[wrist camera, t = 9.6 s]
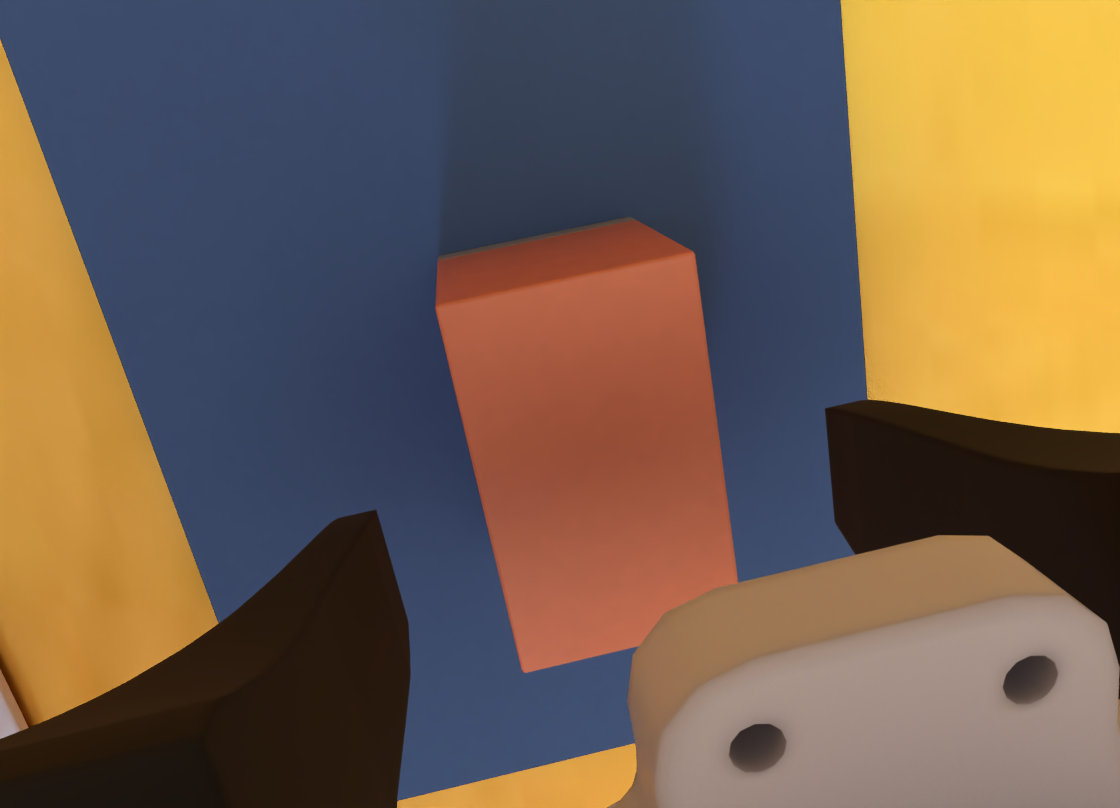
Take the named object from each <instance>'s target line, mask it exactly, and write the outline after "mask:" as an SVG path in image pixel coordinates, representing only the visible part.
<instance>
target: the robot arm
mask: <svg viewBox="0 0 1120 808" xmlns="http://www.w3.org/2000/svg"><path fill="white" fill-rule="evenodd" d="M825 416H826V427H827V439H828V450H829V462H830V474H831V485H832V497H833V508H834V520H835V524H836V525H837V527H838V528H839V530H840V531H841V533H842V535H843V536H844V538H845V539H846V541H847V542H848V544H849V546H850V547H851V549H852V550H853V552H854V553H855V554H856V555H853V556H849V557H844V558H840V559H836V560H832V561H828V562H823V563H819V564H815V565H811V566H806V567H802V568H798V569H794V570H790V571H785V572H781V573H777V574H773V575H769V576H764V577H760V578H756V579H752V580H747V581H743V582H739V583H735V584H731V585H726V586H722V587H718V588H714V589H712V590H710V591H708V592H706V593H704V594H702V595H700V596H698V597H696V598H694V599H692V600H690V601H688V602H686V603H684V604H682V605H680V606H678V607H676V608H674V609H672V610H670V611H668V612H666V613H664V615H663V616H662V617H661V618H660V620H659V621H658V622H657V624H656V625H655V626H654V628H653V629H652V630H651V631H650V633H649V634H648V635H647V637H646V638H645V639H644V641H643V642H642V643H641V645H640V646H639V647H638V648H637V650H636V651H635V652H634V654H633V656H632V665H631V673H630V682H629V690H628V698H627V703H628V708H629V713H630V718H631V724H632V729H633V734H634V739H635V744H636V756H637V771H636V775H635V779H634V782H633V785H632V787H631V788H630V789H629V791H628V792H627V793H626V794H625V795H624V797H623V798H622V799H621V800H620V801H618V802H616V803H614V804H613V805H611V806H609V807H607V808H1120V433H1103V432H1089V431H1075V430H1062V429H1052V428H1043V427H1035V426H1028V425H1021V424H1014V423H1007V422H1000V421H994V420H988V419H982V418H976V417H971V416H965V415H960V414H954V413H949V412H944V411H939V410H933V409H928V408H923V407H917V406H912V405H906V404H900V403H894V402H887V401H878V400H860V401H855V402H851V403H846V404H842V405H838V406H833V407H829V408H825ZM410 678H411V668H410V641H409V622H408V619H407V615H406V612H405V608H404V605H403V601H402V598H401V594H400V591H399V587H398V584H397V580H396V577H395V573H394V570H393V566H392V563H391V559H390V556H389V552H388V549H387V545H386V542H385V538H384V535H383V531H382V528H381V524H380V521H379V517H378V514H377V510H372V511H367V512H363V513H358V514H354V515H349V516H345V517H340V518H337V519H335V520H334V521H332V522H331V523H330V524H329V525H327V526H326V527H325V528H324V529H323V530H322V531H321V532H320V533H319V534H318V535H317V536H316V537H315V538H314V539H313V540H312V541H311V542H310V543H309V544H308V545H307V546H306V547H305V548H304V549H303V550H302V551H300V552H299V553H298V554H297V555H296V556H295V557H294V558H293V559H292V560H291V561H290V562H289V563H288V564H287V565H286V566H285V567H284V568H283V569H282V570H281V571H280V572H279V573H278V574H277V575H276V576H275V577H273V578H272V579H271V580H270V581H269V582H268V583H267V584H265V585H264V586H263V587H262V588H261V589H260V590H259V591H258V592H256V593H255V594H254V595H253V596H252V597H251V598H250V599H248V600H247V601H246V602H245V603H244V604H243V605H242V606H240V607H239V608H238V609H237V610H236V611H234V612H233V613H232V614H231V615H229V616H228V617H227V618H225V619H224V620H223V621H222V622H220V623H219V624H218V625H216V626H215V627H213V628H212V629H211V630H209V631H208V632H206V633H205V634H204V635H202V636H201V637H199V638H198V639H196V640H195V641H194V642H192V643H191V644H189V645H188V646H186V647H185V648H183V649H182V650H180V651H179V652H177V653H175V654H173V655H172V656H170V657H168V658H167V659H165V660H163V661H162V662H160V663H158V664H157V665H155V666H153V667H151V668H150V669H148V670H146V671H145V672H143V673H141V674H140V675H138V676H136V677H135V678H133V679H131V680H129V681H128V682H126V683H124V684H122V685H120V686H118V687H116V688H114V689H112V690H110V691H108V692H106V693H104V694H102V695H100V696H98V697H97V698H95V699H93V700H90V701H88V702H86V703H84V704H82V705H80V706H78V707H75V708H73V709H71V710H69V711H67V712H65V713H63V714H60V715H58V716H56V717H53V718H51V719H49V720H47V721H44V722H42V723H40V724H37V725H35V726H32V727H28V725H27V723H26V721H25V719H24V717H23V715H22V713H21V711H20V709H19V707H18V705H17V703H16V700H15V698H14V696H13V694H12V692H11V690H10V688H9V686H8V684H7V682H6V680H5V678H4V676H3V674H2V672H1V669H0V808H397V797H398V788H399V779H400V770H401V761H402V752H403V744H404V735H405V726H406V717H407V707H408V698H409V688H410Z"/></svg>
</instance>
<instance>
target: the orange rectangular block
mask: <svg viewBox="0 0 1120 808" xmlns="http://www.w3.org/2000/svg"><path fill="white" fill-rule="evenodd" d="M435 310H436V314H437V318H438V322H439V327H440V331H441V335H442V339H443V343H444V348H445V352H446V356H447V360H448V364H449V368H450V373H451V377H452V381H453V385H454V389H455V394H456V398H457V402H458V406H459V410H460V414H461V419H462V423H463V427H464V431H465V435H466V440H467V444H468V448H469V452H470V456H471V460H472V465H473V469H474V473H475V477H476V481H477V486H478V490H479V494H480V498H481V502H482V506H483V511H484V515H485V519H486V523H487V527H488V532H489V536H490V540H491V544H492V548H493V552H494V557H495V561H496V565H497V569H498V573H499V578H500V582H501V586H502V590H503V594H504V598H505V603H506V607H507V611H508V615H509V619H510V624H511V628H512V632H513V636H514V640H515V644H516V649H517V653H518V657H519V661H520V665H521V670H522V671H523V672H524V673H528V672H532V671H536V670H540V669H545V668H549V667H553V666H557V665H561V664H566V663H570V662H574V661H578V660H583V659H587V658H591V657H595V656H599V655H604V654H608V653H612V652H616V651H621V650H625V649H629V648H633V647H637V646H640V645H641V643H642V642H643V641H644V639H645V638H646V637H647V635H648V634H649V633H650V631H651V630H652V629H653V628H654V626H655V625H656V624H657V622H658V621H659V620H660V618H661V617H662V616H663V615H664V613H666V612H668V611H670V610H672V609H674V608H676V607H678V606H680V605H682V604H684V603H686V602H688V601H690V600H692V599H694V598H696V597H698V596H700V595H702V594H704V593H706V592H708V591H710V590H712V589H714V588H718V587H722V586H726V585H731V584H735V583H738V577H737V569H736V562H735V554H734V546H733V539H732V531H731V524H730V516H729V508H728V501H727V493H726V486H725V478H724V470H723V463H722V455H721V448H720V440H719V433H718V425H717V417H716V410H715V402H714V395H713V387H712V379H711V372H710V364H709V357H708V349H707V341H706V334H705V326H704V319H703V311H702V303H701V296H700V288H699V281H698V273H697V265H696V258H695V254H694V252H693V251H691V250H690V249H688V248H686V247H684V246H682V245H680V244H679V243H677V242H675V241H673V240H671V239H670V238H668V237H666V236H664V235H662V234H661V233H659V232H657V231H655V230H653V229H652V228H650V227H648V226H646V225H644V224H643V223H641V222H639V221H637V220H635V219H633V218H632V217H625V218H620V219H615V220H610V221H605V222H600V223H596V224H591V225H586V226H581V227H576V228H571V229H567V230H562V231H557V232H552V233H547V234H542V235H537V236H533V237H528V238H523V239H518V240H513V241H508V242H504V243H499V244H494V245H489V246H484V247H479V248H474V249H470V250H465V251H460V252H455V253H450V254H445V255H441V256H439V257H438V260H437V282H436V305H435Z"/></svg>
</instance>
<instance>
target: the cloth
mask: <svg viewBox="0 0 1120 808" xmlns="http://www.w3.org/2000/svg"><path fill="white" fill-rule="evenodd" d="M0 39H1V42H2V44H3V47H4V50H5V52H6V55H7V58H8V61H9V63H10V66H11V69H12V71H13V74H14V77H15V79H16V82H17V85H18V87H19V90H20V93H21V95H22V98H23V101H24V103H25V106H26V109H27V111H28V114H29V117H30V119H31V122H32V125H33V127H34V130H35V133H36V135H37V138H38V141H39V143H40V146H41V149H42V152H43V154H44V157H45V160H46V162H47V165H48V168H49V170H50V173H51V176H52V178H53V181H54V184H55V186H56V189H57V192H58V194H59V197H60V200H61V202H62V205H63V208H64V210H65V213H66V216H67V218H68V221H69V224H70V226H71V229H72V232H73V235H74V237H75V240H76V243H77V245H78V248H79V251H80V253H81V256H82V259H83V261H84V264H85V267H86V269H87V272H88V275H89V277H90V280H91V283H92V285H93V288H94V291H95V293H96V296H97V299H98V301H99V304H100V307H101V309H102V312H103V315H104V318H105V320H106V323H107V326H108V328H109V331H110V334H111V336H112V339H113V342H114V344H115V347H116V350H117V352H118V355H119V358H120V360H121V363H122V366H123V368H124V371H125V374H126V376H127V379H128V382H129V384H130V387H131V390H132V392H133V395H134V398H135V401H136V403H137V406H138V409H139V411H140V414H141V417H142V419H143V422H144V425H145V427H146V430H147V433H148V435H149V438H150V441H151V443H152V446H153V449H154V451H155V454H156V457H157V459H158V462H159V465H160V467H161V470H162V473H163V475H164V478H165V481H166V483H167V486H168V489H169V492H170V494H171V497H172V500H173V502H174V505H175V508H176V510H177V513H178V516H179V518H180V521H181V524H182V526H183V529H184V532H185V534H186V537H187V540H188V542H189V545H190V548H191V550H192V553H193V556H194V558H195V561H196V564H197V566H198V569H199V572H200V575H201V577H202V580H203V583H204V585H205V588H206V591H207V593H208V596H209V599H210V601H211V604H212V607H213V609H214V612H215V615H216V617H217V620H218V623H220V622H222V621H223V620H224V619H225V618H227V617H228V616H229V615H231V614H232V613H233V612H234V611H236V610H237V609H238V608H239V607H240V606H242V605H243V604H244V603H245V602H246V601H247V600H248V599H250V598H251V597H252V596H253V595H254V594H255V593H256V592H258V591H259V590H260V589H261V588H262V587H263V586H264V585H265V584H267V583H268V582H269V581H270V580H271V579H272V578H273V577H275V576H276V575H277V574H278V573H279V572H280V571H281V570H282V569H283V568H284V567H285V566H286V565H287V564H288V563H289V562H290V561H291V560H292V559H293V558H294V557H295V556H296V555H297V554H298V553H299V552H300V551H302V550H303V549H304V548H305V547H306V546H307V545H308V544H309V543H310V542H311V541H312V540H313V539H314V538H315V537H316V536H317V535H318V534H319V533H320V532H321V531H322V530H323V529H324V528H325V527H326V526H327V525H329V524H330V523H331V522H332V521H334V520H335V519H337V518H340V517H345V516H349V515H354V514H358V513H363V512H367V511H372V510H377V514H378V517H379V521H380V524H381V528H382V531H383V535H384V538H385V542H386V545H387V549H388V552H389V556H390V559H391V563H392V566H393V570H394V573H395V577H396V580H397V584H398V587H399V591H400V594H401V598H402V601H403V605H404V608H405V612H406V615H407V619H408V622H409V641H410V668H411V678H410V688H409V698H408V707H407V717H406V726H405V735H404V744H403V752H402V761H401V770H400V779H399V788H398V797H397V801H399V800H403V799H407V798H411V797H415V796H419V795H423V794H427V793H432V792H436V791H440V790H444V789H448V788H452V787H456V786H460V785H464V784H469V783H473V782H477V781H481V780H485V779H489V778H493V777H497V776H501V775H506V774H510V773H514V772H518V771H522V770H526V769H530V768H534V767H538V766H542V765H547V764H551V763H555V762H559V761H563V760H567V759H571V758H575V757H579V756H584V755H588V754H592V753H596V752H600V751H604V750H608V749H612V748H616V747H621V746H625V745H629V744H633V743H635V739H634V734H633V729H632V724H631V718H630V713H629V708H628V703H627V698H628V690H629V682H630V673H631V665H632V656H633V654H634V652H635V651H636V650H637V648H638V647H639V646H637V647H633V648H629V649H625V650H621V651H616V652H612V653H608V654H604V655H599V656H595V657H591V658H587V659H583V660H578V661H574V662H570V663H566V664H561V665H557V666H553V667H549V668H545V669H540V670H536V671H532V672H528V673H524V672H523V671H522V670H521V665H520V661H519V657H518V653H517V649H516V644H515V640H514V636H513V632H512V628H511V624H510V619H509V615H508V611H507V607H506V603H505V598H504V594H503V590H502V586H501V582H500V578H499V573H498V569H497V565H496V561H495V557H494V552H493V548H492V544H491V540H490V536H489V532H488V527H487V523H486V519H485V515H484V511H483V506H482V502H481V498H480V494H479V490H478V486H477V481H476V477H475V473H474V469H473V465H472V460H471V456H470V452H469V448H468V444H467V440H466V435H465V431H464V427H463V423H462V419H461V414H460V410H459V406H458V402H457V398H456V394H455V389H454V385H453V381H452V377H451V373H450V368H449V364H448V360H447V356H446V352H445V348H444V343H443V339H442V335H441V331H440V327H439V322H438V318H437V314H436V310H435V305H436V282H437V260H438V257H439V256H441V255H445V254H450V253H455V252H460V251H465V250H470V249H474V248H479V247H484V246H489V245H494V244H499V243H504V242H508V241H513V240H518V239H523V238H528V237H533V236H537V235H542V234H547V233H552V232H557V231H562V230H567V229H571V228H576V227H581V226H586V225H591V224H596V223H600V222H605V221H610V220H615V219H620V218H625V217H632V218H633V219H635V220H637V221H639V222H641V223H643V224H644V225H646V226H648V227H650V228H652V229H653V230H655V231H657V232H659V233H661V234H662V235H664V236H666V237H668V238H670V239H671V240H673V241H675V242H677V243H679V244H680V245H682V246H684V247H686V248H688V249H690V250H691V251H693V252H694V254H695V258H696V265H697V273H698V281H699V288H700V296H701V303H702V311H703V319H704V326H705V334H706V341H707V349H708V357H709V364H710V372H711V379H712V387H713V395H714V402H715V410H716V417H717V425H718V433H719V440H720V448H721V455H722V463H723V470H724V478H725V486H726V493H727V501H728V508H729V516H730V524H731V531H732V539H733V546H734V554H735V562H736V569H737V577H738V583H739V582H743V581H747V580H752V579H756V578H760V577H764V576H769V575H773V574H777V573H781V572H785V571H790V570H794V569H798V568H802V567H806V566H811V565H815V564H819V563H823V562H828V561H832V560H836V559H840V558H844V557H849V556H853V555H856V554H855V553H854V552H853V550H852V549H851V547H850V546H849V544H848V542H847V541H846V539H845V538H844V536H843V535H842V533H841V531H840V530H839V528H838V527H837V525H836V524H835V520H834V508H833V497H832V485H831V474H830V462H829V450H828V439H827V427H826V416H825V408H829V407H833V406H838V405H842V404H846V403H851V402H855V401H860V400H867V387H866V372H865V357H864V342H863V328H862V313H861V298H860V283H859V268H858V254H857V239H856V224H855V209H854V195H853V180H852V165H851V150H850V136H849V121H848V106H847V91H846V76H845V62H844V47H843V32H842V17H841V3H840V0H0Z"/></svg>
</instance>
